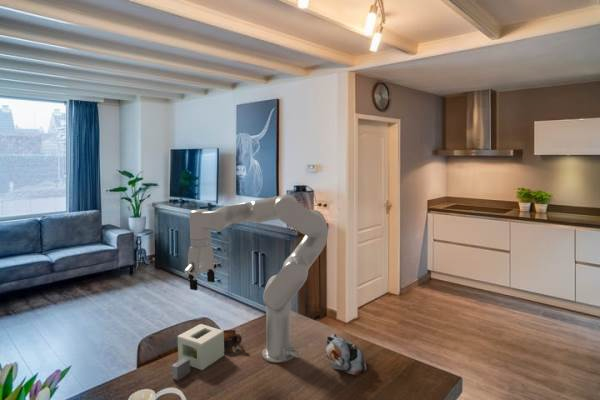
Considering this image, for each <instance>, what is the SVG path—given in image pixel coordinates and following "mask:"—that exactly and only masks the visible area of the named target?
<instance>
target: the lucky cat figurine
mask: <svg viewBox="0 0 600 400" xmlns="http://www.w3.org/2000/svg"><path fill="white" fill-rule="evenodd" d="M326 345H327V346H326V348H325V352H326V354H325V356H326V358H327V360H328V361H329V363H330V364H331V367H332V368H333V369H334V370H340V371H342V372H345V373H347V374H350V375H353V376H359V375H361V374H362V373H363V372H365V371H366V370H367V363H366V362H365V361H364V355H363V352H362V351H361V349H360V347H358V346H357V345H356V344H355V343H353V342H352V341H346V339H345V338H343V337H341V336H340V337H338V336H337V333H332V334H331V336H327V340H326Z"/></svg>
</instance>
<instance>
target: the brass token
mask: <svg viewBox="0 0 600 400" xmlns="http://www.w3.org/2000/svg"><path fill="white" fill-rule="evenodd" d="M193 358H196V359H197V349H196V348H193Z"/></svg>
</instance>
